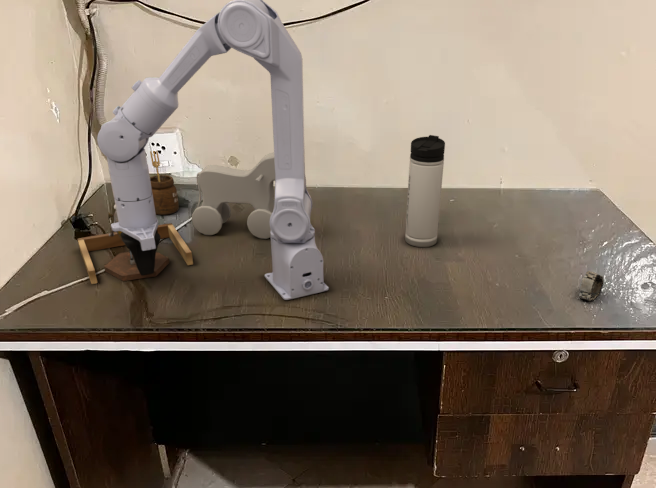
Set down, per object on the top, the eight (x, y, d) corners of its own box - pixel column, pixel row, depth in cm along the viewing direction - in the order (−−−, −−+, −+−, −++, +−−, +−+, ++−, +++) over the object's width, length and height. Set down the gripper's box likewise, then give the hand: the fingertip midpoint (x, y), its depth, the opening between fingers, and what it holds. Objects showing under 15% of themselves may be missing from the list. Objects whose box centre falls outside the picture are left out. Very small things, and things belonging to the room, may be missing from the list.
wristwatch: (595, 306, 104) (605, 279, 104) (587, 296, 100) (598, 268, 100) (577, 302, 106) (588, 275, 106) (569, 291, 102) (580, 264, 102)
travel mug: (441, 237, 123) (450, 137, 113) (430, 250, 118) (439, 146, 108) (412, 231, 126) (418, 132, 116) (400, 243, 120) (405, 141, 110)
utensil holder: (153, 217, 129) (144, 160, 123) (147, 207, 133) (138, 152, 127) (182, 213, 131) (174, 157, 125) (175, 203, 136) (168, 149, 130)
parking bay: (193, 264, 110) (191, 251, 109) (91, 284, 103) (88, 271, 102) (173, 234, 121) (171, 222, 120) (79, 250, 114) (77, 238, 113)
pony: (301, 224, 128) (299, 142, 119) (291, 245, 119) (288, 158, 110) (206, 218, 129) (197, 137, 121) (189, 238, 120) (178, 152, 112)
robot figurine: (168, 251, 115) (159, 189, 109) (174, 273, 107) (164, 208, 101) (104, 260, 111) (91, 196, 105) (105, 283, 104) (91, 216, 98)
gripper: (99, 184, 101) (114, 260, 107) (114, 215, 90) (130, 297, 96) (143, 178, 104) (155, 252, 110) (164, 207, 93) (175, 287, 99)
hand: (146, 272), depth 104 cm, fingers closed
